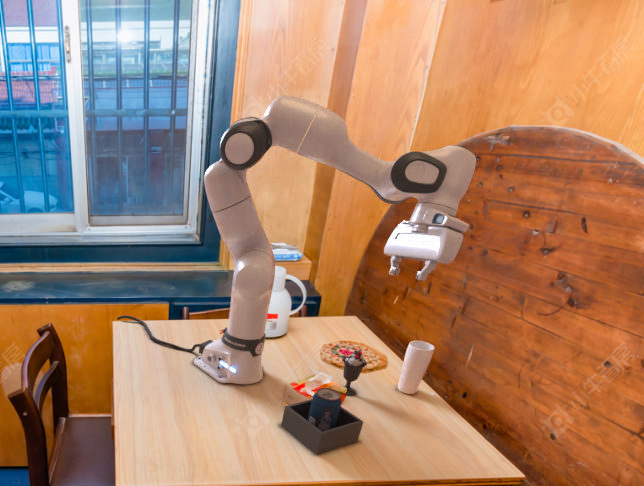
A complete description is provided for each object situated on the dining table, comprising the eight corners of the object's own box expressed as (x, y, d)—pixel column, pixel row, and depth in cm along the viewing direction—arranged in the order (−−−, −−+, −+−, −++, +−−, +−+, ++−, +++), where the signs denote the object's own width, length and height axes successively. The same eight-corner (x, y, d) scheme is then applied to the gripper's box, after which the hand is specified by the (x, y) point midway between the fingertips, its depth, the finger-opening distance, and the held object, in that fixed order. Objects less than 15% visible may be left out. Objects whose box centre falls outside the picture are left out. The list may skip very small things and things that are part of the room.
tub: (280, 425, 136) (284, 406, 133) (320, 414, 141) (324, 395, 138) (316, 454, 125) (321, 434, 122) (357, 441, 130) (363, 421, 127)
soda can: (319, 422, 137) (329, 384, 131) (338, 437, 132) (349, 397, 126) (299, 428, 135) (308, 389, 128) (317, 443, 129) (327, 403, 123)
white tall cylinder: (421, 397, 150) (438, 351, 142) (397, 394, 151) (412, 349, 144) (415, 386, 156) (431, 341, 148) (391, 383, 157) (406, 339, 149)
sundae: (347, 399, 148) (360, 353, 141) (330, 388, 154) (341, 343, 146) (363, 394, 151) (376, 348, 143) (345, 383, 156) (357, 339, 149)
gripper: (391, 216, 130) (368, 269, 134) (454, 217, 111) (426, 279, 115) (410, 223, 132) (387, 275, 135) (475, 226, 113) (447, 286, 116)
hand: (405, 277), depth 125 cm, fingers open, 8 cm apart
